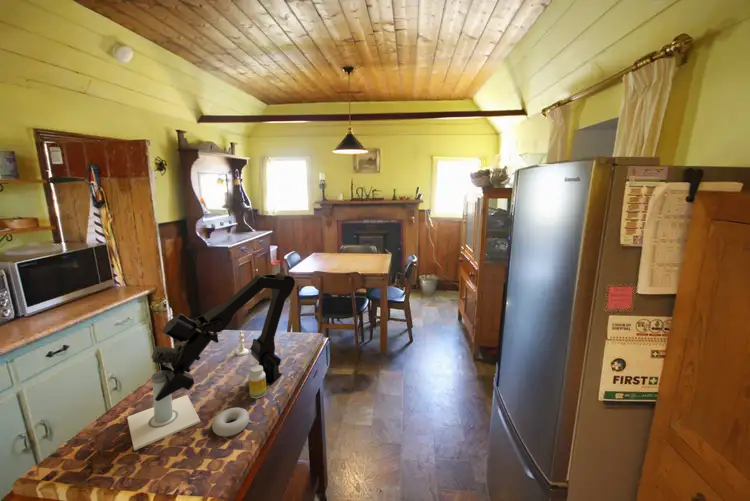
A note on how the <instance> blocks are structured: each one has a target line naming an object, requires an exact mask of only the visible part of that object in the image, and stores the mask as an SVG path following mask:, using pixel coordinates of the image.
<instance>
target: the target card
mask: <svg viewBox="0 0 750 501" xmlns="http://www.w3.org/2000/svg"><path fill="white" fill-rule="evenodd" d="M172 413H173V416H172V418H171V419H170V420H168V421H167V422H164V423H156V422H155V418H154V406H152V407H151V408H148V409H145V410H142V411H139V412H137V413H134V414H132V415H129V416H127V423H128V428H129V433H130V438H131V442H132V447H133V450H134V451H137V450H139V449H141V448H144V447H146V446H148V445H151V444H153V443H155V442H158V441H160V440H162V439H164V438H167V437H170V436H171V435H174V434H176V433H178V432H181V431H183V430H185V429H187V428H190V427H193V426H195V425H197V424H200V423H201V419H200V417H199V415H198V413H197V411H196V409H195V407H194V405H193V402H192V401H191V400H190V398H189V395H188V394H185V395H183V396H181V397H178V398H175V399H172Z"/></svg>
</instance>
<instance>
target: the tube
mask: <svg viewBox="0 0 750 501" xmlns="http://www.w3.org/2000/svg"><path fill="white" fill-rule="evenodd" d="M170 373H171V371H168V370H163V371H160V370H159V371H157V372H155V373H153V374H152V375H151V383H152V387H153V390H152V396H153V397H152V398H153V407H154V418H155V422H156V423H164V422H167V421H168V420H170V419H171V418H172V416H173V413H172V400H173V398H172V396H173V395H172V394H173V393H172V394H170V395H168V396H166V397H165V398H163V399H161V400H160V401H156V400H155V398H156V397H157V395H158V393H159V392H160V390H161V389H162V387H163V386H164V384H165V383H166V379H165V375H166V376H169V374H170Z"/></svg>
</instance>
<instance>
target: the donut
mask: <svg viewBox="0 0 750 501" xmlns="http://www.w3.org/2000/svg"><path fill="white" fill-rule="evenodd" d="M231 421H232V422H231ZM249 422H250V414H249V412H248V411H247V410H246V409H245V408H242V407H230V408H227V409H225V410H222V411H221V412H220V413H218V414H217V415H216V416H215V417H214V419H213V421H212V425H211V427H212V431H213V433H215V435H217V436H220V437H225V438H228V437H232V436H235V435H238V434H239V433H240V432H242V431H243V430H245V428H246V427H247V425H249Z"/></svg>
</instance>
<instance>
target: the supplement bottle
mask: <svg viewBox="0 0 750 501" xmlns="http://www.w3.org/2000/svg"><path fill="white" fill-rule="evenodd" d="M249 371H250V372H249V375H248V385H249V386H248V388H249V396H250V397H251V398H253V399H259V398H262V397H265V395H266V394H267V383H266V375H265V372H264V371H263V366H261V365H259V364H258V365H257V364H256V365H253V366H251V368H250V370H249Z"/></svg>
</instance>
